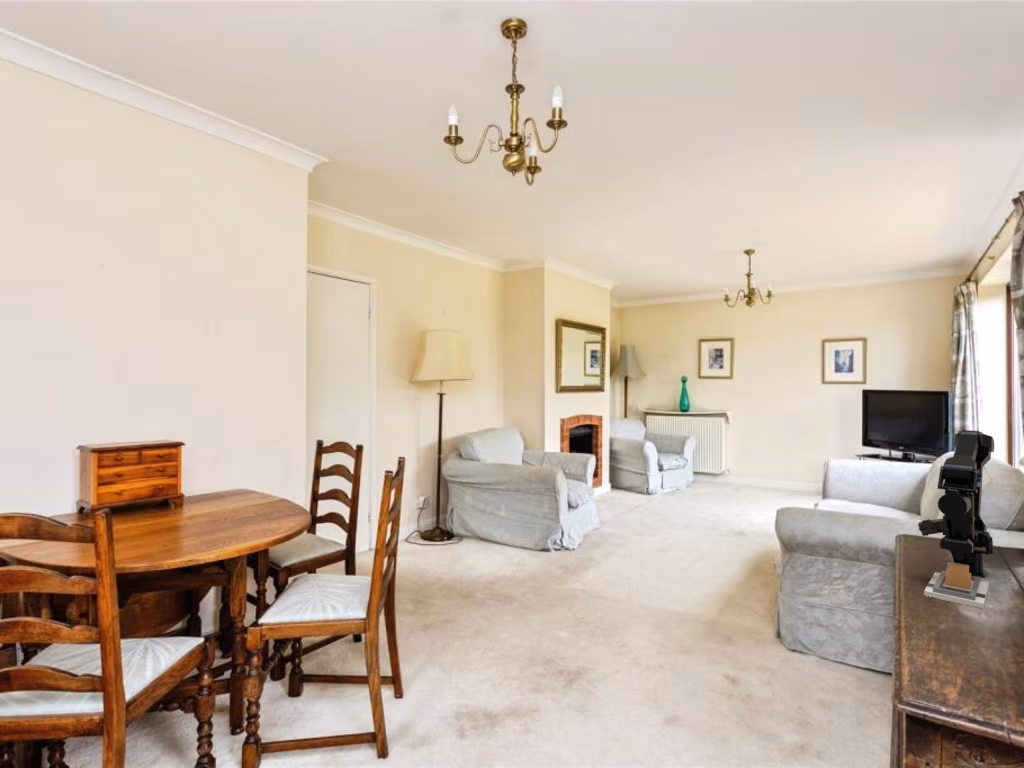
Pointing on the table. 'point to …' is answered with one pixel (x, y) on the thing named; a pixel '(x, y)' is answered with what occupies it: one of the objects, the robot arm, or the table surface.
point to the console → (958, 591)
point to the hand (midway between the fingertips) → (959, 572)
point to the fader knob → (958, 575)
